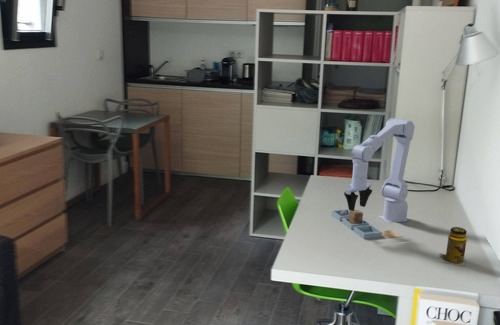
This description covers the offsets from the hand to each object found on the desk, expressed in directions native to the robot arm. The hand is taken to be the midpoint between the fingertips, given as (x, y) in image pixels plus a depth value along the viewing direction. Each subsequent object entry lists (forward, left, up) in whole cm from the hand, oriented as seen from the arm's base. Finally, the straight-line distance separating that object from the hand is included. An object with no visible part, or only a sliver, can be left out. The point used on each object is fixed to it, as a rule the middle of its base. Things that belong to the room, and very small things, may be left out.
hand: (357, 208), depth 205 cm
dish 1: (-3, -15, -10) cm, 18 cm away
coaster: (-12, +7, -10) cm, 17 cm away
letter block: (-3, -5, -9) cm, 11 cm away
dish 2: (-3, -5, -10) cm, 11 cm away
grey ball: (-3, -15, -9) cm, 18 cm away
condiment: (-21, +33, -10) cm, 40 cm away
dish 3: (-3, +5, -10) cm, 11 cm away
